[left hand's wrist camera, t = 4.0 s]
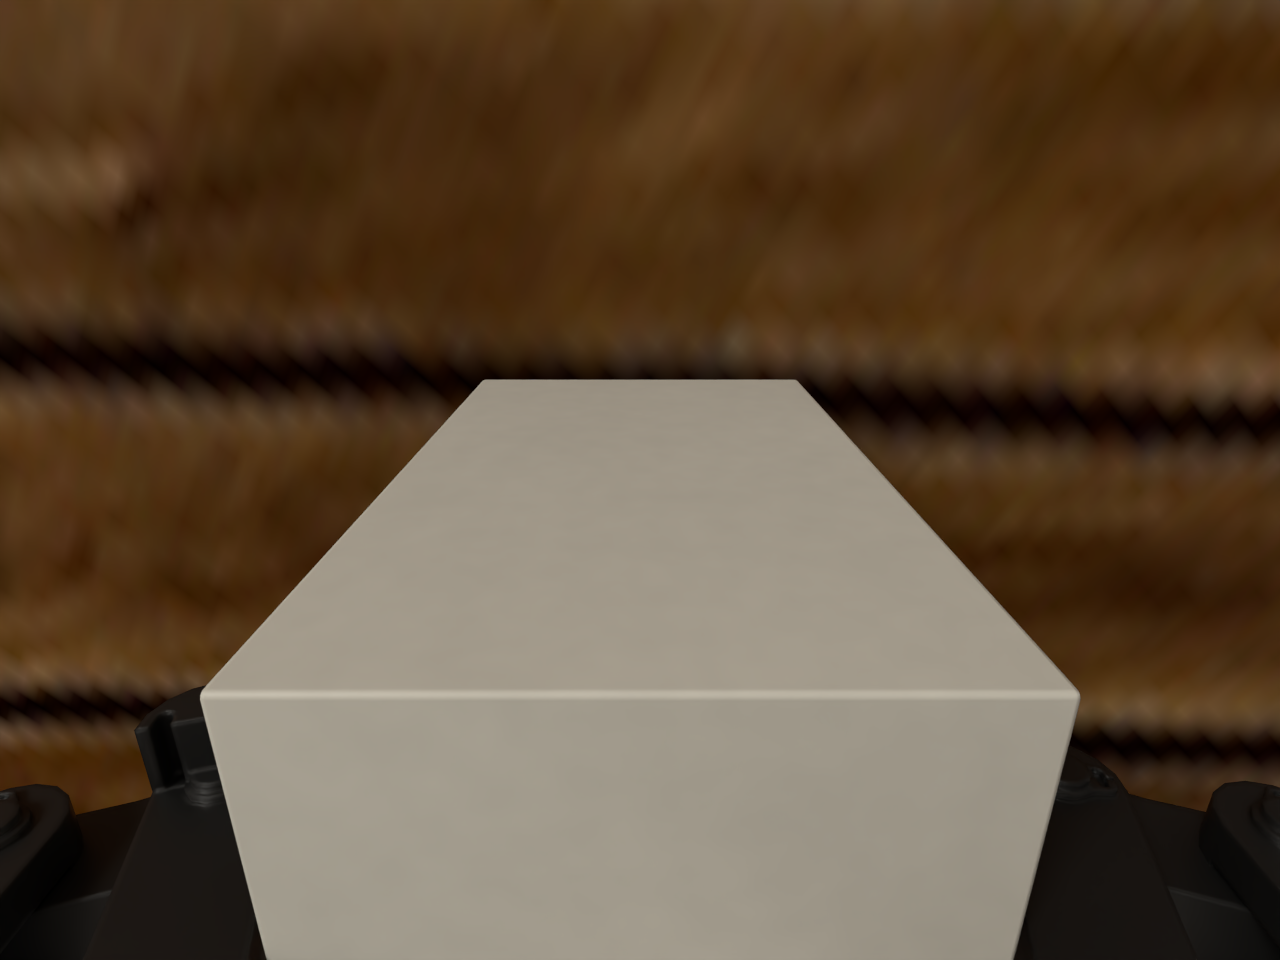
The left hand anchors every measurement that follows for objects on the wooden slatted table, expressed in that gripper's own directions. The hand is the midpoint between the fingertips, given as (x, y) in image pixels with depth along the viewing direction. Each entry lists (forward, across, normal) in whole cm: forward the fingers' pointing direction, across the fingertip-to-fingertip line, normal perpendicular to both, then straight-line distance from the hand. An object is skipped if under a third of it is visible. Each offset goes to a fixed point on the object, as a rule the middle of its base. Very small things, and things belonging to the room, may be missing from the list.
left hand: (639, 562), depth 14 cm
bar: (0, 0, -9) cm, 9 cm away
